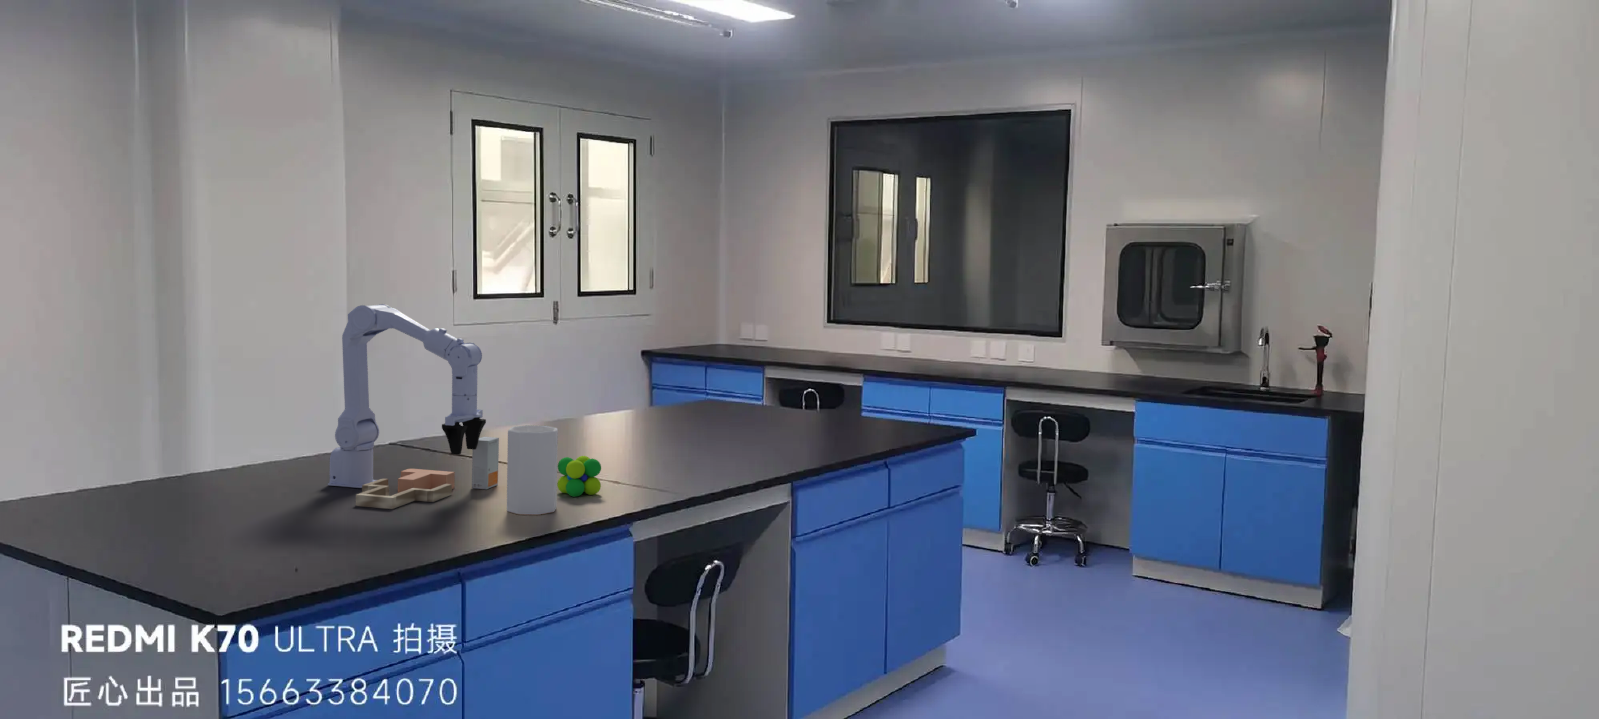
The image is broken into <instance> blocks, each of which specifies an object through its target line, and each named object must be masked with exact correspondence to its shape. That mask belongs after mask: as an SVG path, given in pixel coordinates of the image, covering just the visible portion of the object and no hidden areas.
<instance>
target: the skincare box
mask: <svg viewBox="0 0 1599 719" xmlns="http://www.w3.org/2000/svg"><path fill="white" fill-rule="evenodd" d="M471 450H472V451H471V452H472V454H471V456H472V457H471V458H472V460H471V489H476V490H477V489H480V490H488V489H491V488H494V487H496V486H498V485H499V458H500V457H499V456H500V455H499V451H500V437H494V436H482V437H479V440H478V444H477V448H476V449H475V450H474V449H471Z"/></svg>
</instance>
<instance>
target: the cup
mask: <svg viewBox="0 0 1599 719" xmlns="http://www.w3.org/2000/svg"><path fill="white" fill-rule="evenodd" d="M558 431H559V429H558V427H554V426H549V425H539V424H538V425H535V424H534V425H531V424H530V425H529V424H526V425H517V426H511V427H510V428H509V429H508V430H507V459H506V460H507V464H506V465H507V466H506V467H507V468H506V470H507V471H506V472H507V473H506V475H507V476H506V478H507V479H506V511H507V512H508V513H511V514H515V515H518V516H540V515H541V514H542V515H547V514H552V513H554V512H555V511H556V509H557V498H558V496H557V495H558V493H557V491H558V486H557V483H558V444H559V442H558V441H559V440H558V438H559V436H558V434H559V432H558ZM542 515H541V516H542Z"/></svg>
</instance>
